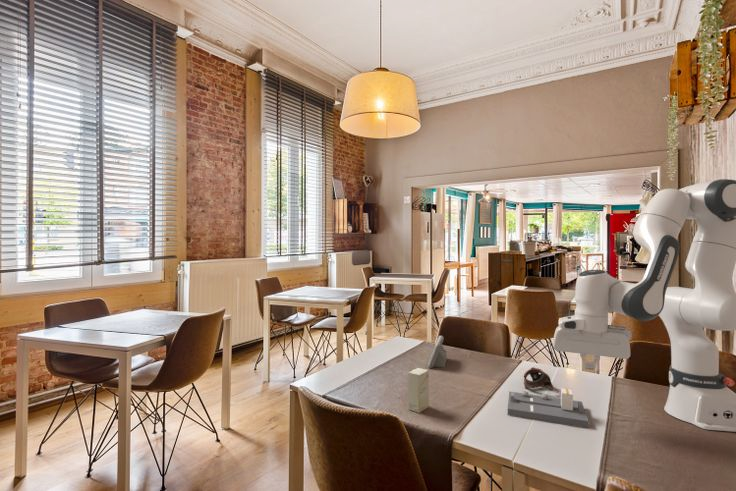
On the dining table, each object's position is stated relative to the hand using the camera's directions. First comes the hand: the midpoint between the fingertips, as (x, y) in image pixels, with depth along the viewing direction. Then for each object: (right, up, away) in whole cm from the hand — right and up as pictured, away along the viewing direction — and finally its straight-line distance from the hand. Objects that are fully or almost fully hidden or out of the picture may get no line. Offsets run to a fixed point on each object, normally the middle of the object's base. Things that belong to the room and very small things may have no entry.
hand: (589, 368), depth 116 cm
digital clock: (-37, -15, +52) cm, 65 cm away
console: (-11, -15, +5) cm, 19 cm away
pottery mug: (-5, -15, +24) cm, 29 cm away
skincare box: (-51, -16, +8) cm, 54 cm away
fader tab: (-5, -13, +3) cm, 14 cm away
